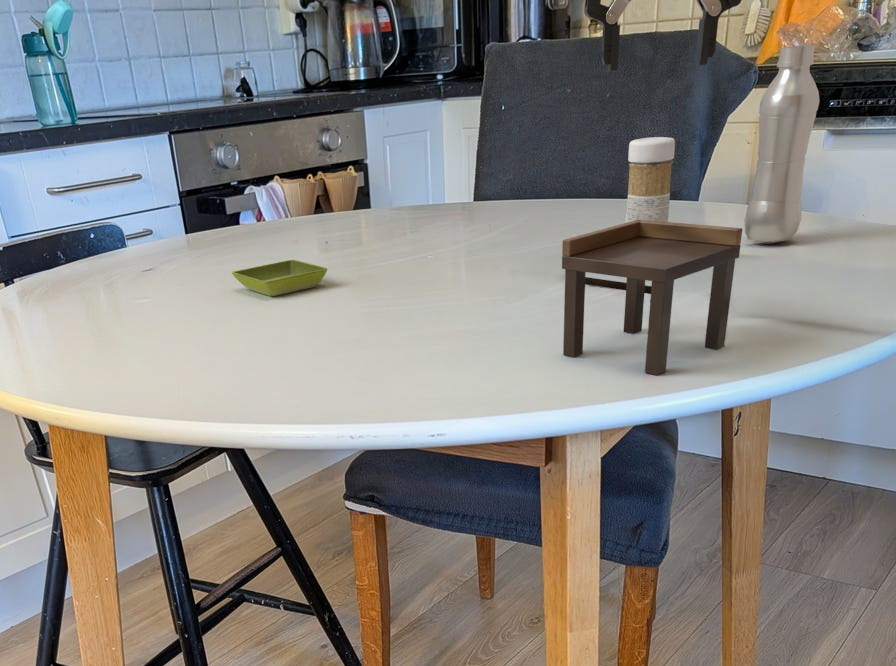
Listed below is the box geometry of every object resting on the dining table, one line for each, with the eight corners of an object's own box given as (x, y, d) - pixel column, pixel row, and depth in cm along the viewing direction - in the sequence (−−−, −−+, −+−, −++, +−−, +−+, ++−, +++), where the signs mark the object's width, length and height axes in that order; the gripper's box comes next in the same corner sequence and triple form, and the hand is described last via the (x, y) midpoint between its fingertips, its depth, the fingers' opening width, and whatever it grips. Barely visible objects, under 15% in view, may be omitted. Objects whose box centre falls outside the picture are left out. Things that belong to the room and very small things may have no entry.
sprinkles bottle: (642, 271, 99) (651, 135, 91) (672, 277, 96) (685, 136, 88) (612, 279, 97) (619, 140, 89) (642, 285, 94) (652, 141, 86)
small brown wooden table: (728, 346, 74) (743, 228, 69) (657, 376, 69) (668, 251, 63) (630, 328, 80) (637, 219, 75) (559, 355, 75) (562, 239, 70)
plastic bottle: (799, 237, 108) (830, 43, 97) (794, 248, 103) (827, 44, 92) (745, 237, 111) (769, 47, 100) (737, 247, 106) (762, 49, 95)
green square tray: (331, 286, 104) (329, 267, 103) (267, 300, 100) (264, 281, 99) (295, 276, 110) (292, 259, 109) (233, 290, 106) (230, 272, 105)
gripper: (596, -153, 74) (587, 75, 83) (769, -169, 73) (741, 63, 82) (586, -138, 80) (579, 72, 89) (745, -153, 79) (722, 62, 88)
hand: (656, 68), depth 85 cm, fingers open, 8 cm apart
